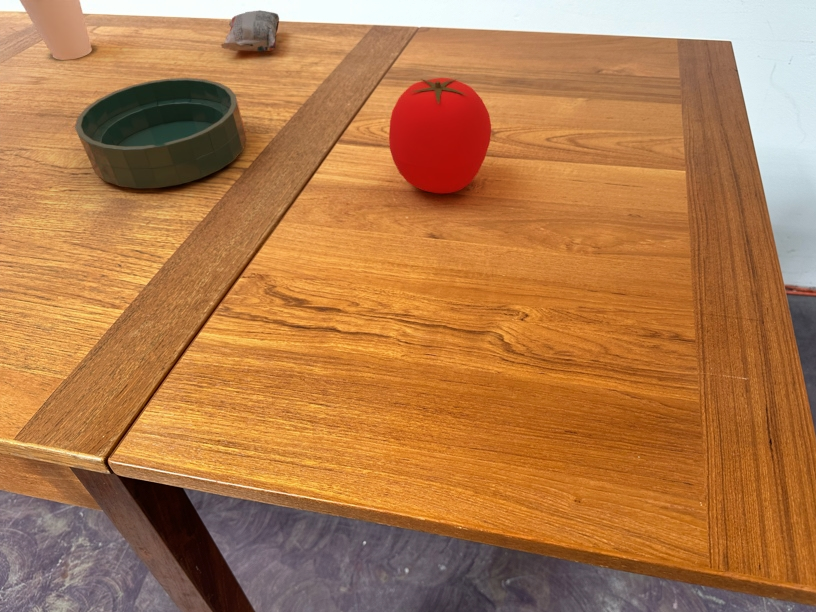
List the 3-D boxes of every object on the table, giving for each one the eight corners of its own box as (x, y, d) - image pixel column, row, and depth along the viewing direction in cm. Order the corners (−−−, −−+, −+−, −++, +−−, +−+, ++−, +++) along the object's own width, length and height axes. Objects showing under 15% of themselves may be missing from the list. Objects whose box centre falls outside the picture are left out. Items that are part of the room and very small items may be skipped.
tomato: (425, 221, 75) (418, 115, 66) (375, 176, 82) (363, 76, 73) (512, 186, 80) (517, 84, 71) (458, 147, 87) (456, 49, 78)
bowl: (88, 205, 79) (66, 160, 75) (101, 131, 92) (83, 89, 88) (252, 178, 83) (241, 133, 78) (243, 110, 96) (232, 69, 92)
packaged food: (225, 61, 109) (217, 30, 105) (233, 34, 117) (226, 5, 114) (278, 58, 110) (273, 27, 106) (282, 32, 118) (277, 2, 114)
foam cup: (105, 55, 112) (72, -29, 103) (46, 68, 109) (7, -18, 100) (96, 37, 118) (64, -44, 109) (40, 49, 115) (3, -34, 106)
